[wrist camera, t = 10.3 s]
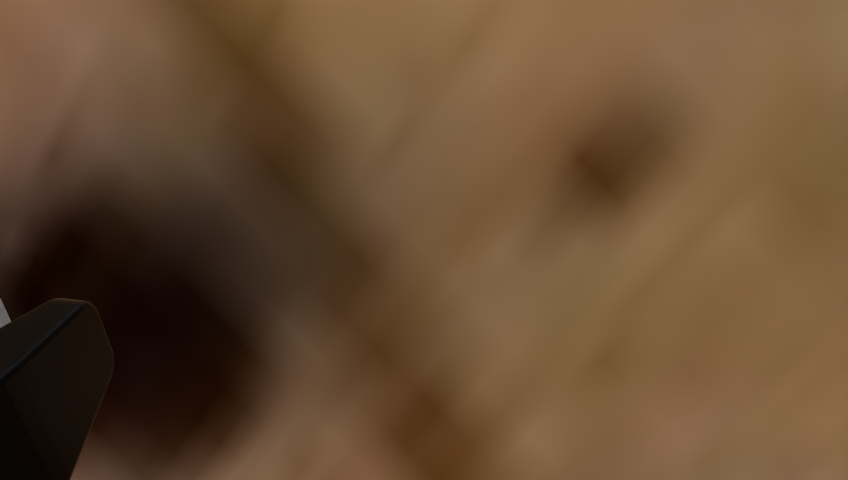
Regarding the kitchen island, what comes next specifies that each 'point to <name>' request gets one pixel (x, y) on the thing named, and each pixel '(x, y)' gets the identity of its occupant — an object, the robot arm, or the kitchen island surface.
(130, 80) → the kitchen island surface
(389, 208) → the kitchen island surface
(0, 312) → the french press
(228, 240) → the kitchen island surface
